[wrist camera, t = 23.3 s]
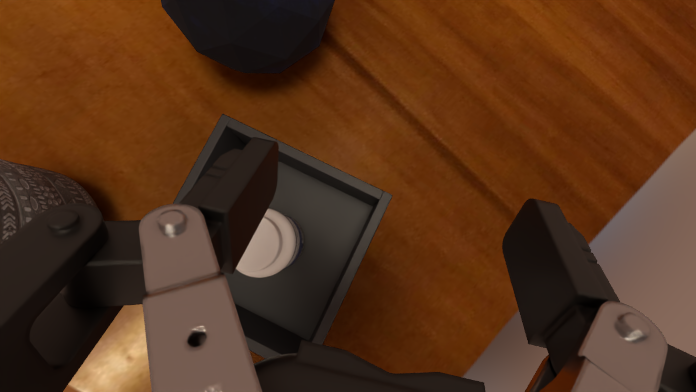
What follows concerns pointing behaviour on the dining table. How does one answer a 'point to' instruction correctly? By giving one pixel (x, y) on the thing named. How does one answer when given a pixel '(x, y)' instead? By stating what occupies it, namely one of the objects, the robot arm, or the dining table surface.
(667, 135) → the dining table surface
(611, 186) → the dining table surface
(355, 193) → the bin
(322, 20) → the decorative orb
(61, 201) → the planter
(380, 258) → the dining table surface
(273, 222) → the pill bottle
